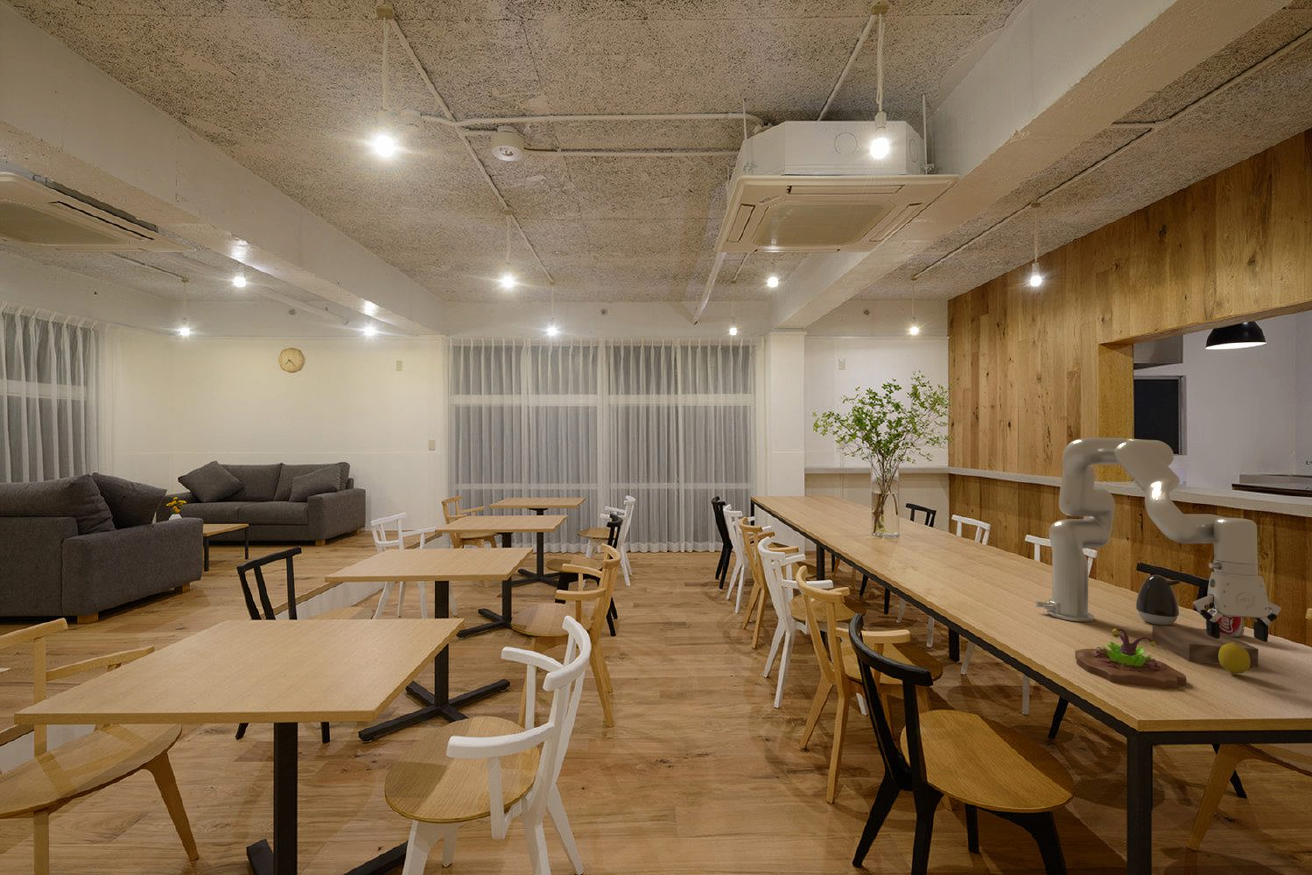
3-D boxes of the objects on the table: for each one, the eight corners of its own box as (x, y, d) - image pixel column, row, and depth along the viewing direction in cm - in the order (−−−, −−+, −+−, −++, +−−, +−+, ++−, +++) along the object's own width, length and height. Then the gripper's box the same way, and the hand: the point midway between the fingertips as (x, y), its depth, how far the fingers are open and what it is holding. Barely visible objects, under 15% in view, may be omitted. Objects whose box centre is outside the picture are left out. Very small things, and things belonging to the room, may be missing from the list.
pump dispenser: (1180, 630, 172) (1181, 580, 172) (1135, 623, 178) (1136, 575, 178) (1179, 622, 179) (1179, 574, 179) (1136, 615, 186) (1136, 569, 186)
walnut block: (1189, 662, 148) (1189, 643, 148) (1152, 642, 162) (1152, 625, 162) (1258, 668, 145) (1258, 649, 145) (1214, 647, 159) (1214, 629, 159)
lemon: (1245, 681, 136) (1245, 648, 136) (1214, 672, 141) (1214, 640, 141) (1254, 676, 138) (1254, 644, 138) (1223, 668, 143) (1223, 637, 143)
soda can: (1251, 639, 165) (1251, 598, 165) (1222, 637, 166) (1223, 596, 166) (1231, 631, 172) (1232, 591, 172) (1204, 629, 173) (1204, 590, 173)
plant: (1058, 655, 152) (1058, 614, 152) (1135, 658, 150) (1135, 616, 150) (1112, 688, 132) (1113, 640, 132) (1202, 692, 131) (1202, 643, 131)
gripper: (1204, 569, 138) (1206, 640, 137) (1291, 573, 134) (1293, 646, 133) (1183, 563, 145) (1184, 631, 144) (1265, 567, 141) (1266, 636, 141)
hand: (1236, 638), depth 139 cm, fingers open, 9 cm apart
